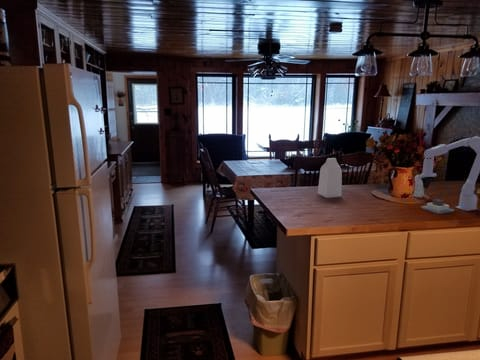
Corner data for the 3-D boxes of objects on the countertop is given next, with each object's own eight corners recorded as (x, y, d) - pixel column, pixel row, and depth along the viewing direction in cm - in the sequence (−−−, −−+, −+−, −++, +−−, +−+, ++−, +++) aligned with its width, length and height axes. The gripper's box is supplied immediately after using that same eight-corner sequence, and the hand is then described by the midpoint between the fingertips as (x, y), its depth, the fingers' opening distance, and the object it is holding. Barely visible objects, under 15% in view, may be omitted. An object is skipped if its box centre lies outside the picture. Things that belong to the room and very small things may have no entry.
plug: (436, 206, 226) (437, 199, 225) (442, 208, 223) (443, 200, 221) (432, 207, 225) (433, 199, 223) (438, 209, 221) (439, 201, 220)
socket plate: (435, 205, 232) (436, 200, 231) (454, 211, 220) (455, 205, 220) (420, 208, 227) (421, 202, 226) (439, 214, 215) (439, 208, 215)
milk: (332, 192, 264) (334, 156, 259) (341, 196, 254) (343, 159, 248) (317, 193, 261) (319, 157, 255) (326, 197, 250) (328, 160, 244)
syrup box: (414, 194, 257) (416, 174, 254) (423, 196, 254) (426, 175, 250) (412, 196, 253) (414, 176, 250) (421, 198, 249) (423, 177, 246)
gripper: (430, 165, 241) (428, 185, 244) (414, 167, 235) (412, 187, 238) (440, 167, 234) (437, 188, 237) (423, 169, 229) (421, 190, 232)
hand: (425, 188), depth 237 cm, fingers closed
